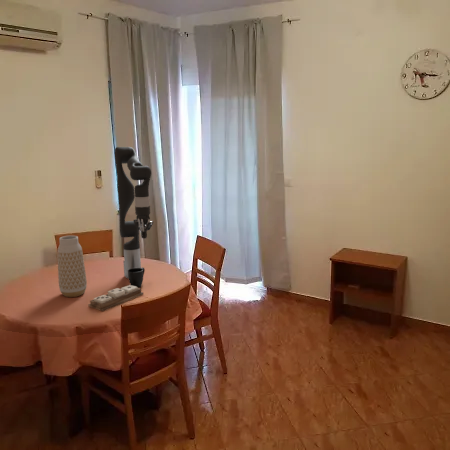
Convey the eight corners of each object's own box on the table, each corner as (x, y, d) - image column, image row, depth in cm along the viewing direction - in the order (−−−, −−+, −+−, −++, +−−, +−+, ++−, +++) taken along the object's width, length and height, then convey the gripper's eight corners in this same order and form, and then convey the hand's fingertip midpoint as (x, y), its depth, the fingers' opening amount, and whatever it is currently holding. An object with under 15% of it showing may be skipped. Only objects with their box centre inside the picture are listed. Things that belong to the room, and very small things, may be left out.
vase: (61, 300, 214) (55, 241, 207) (58, 292, 226) (52, 236, 219) (89, 295, 220) (84, 238, 213) (85, 287, 232) (80, 233, 225)
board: (88, 306, 206) (88, 300, 205) (129, 290, 227) (128, 285, 226) (102, 311, 200) (102, 305, 199) (143, 294, 220) (143, 289, 220)
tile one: (121, 292, 219) (120, 287, 218) (130, 289, 224) (129, 284, 223) (129, 295, 215) (128, 290, 215) (137, 291, 220) (137, 286, 220)
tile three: (94, 303, 205) (93, 298, 205) (104, 299, 210) (103, 294, 210) (101, 305, 202) (101, 300, 201) (111, 301, 207) (111, 296, 206)
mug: (150, 283, 237) (150, 266, 236) (138, 290, 227) (137, 273, 225) (138, 281, 241) (137, 265, 239) (125, 288, 230) (124, 271, 228)
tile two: (107, 296, 212) (107, 291, 211) (117, 292, 217) (116, 287, 216) (115, 298, 209) (115, 293, 208) (125, 294, 213) (124, 289, 213)
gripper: (128, 205, 217) (130, 237, 221) (146, 207, 209) (147, 241, 213) (138, 203, 223) (140, 235, 226) (156, 205, 215) (158, 238, 219)
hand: (144, 238), depth 220 cm, fingers closed
